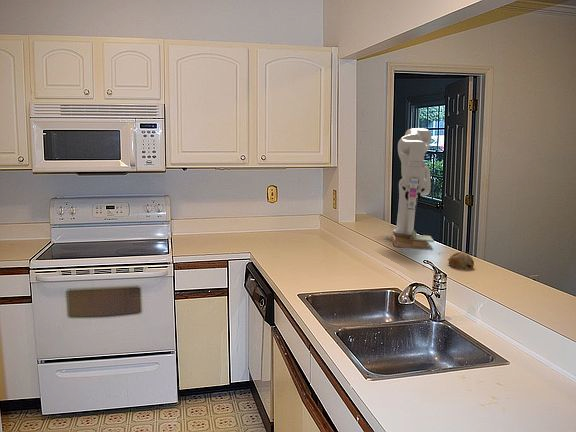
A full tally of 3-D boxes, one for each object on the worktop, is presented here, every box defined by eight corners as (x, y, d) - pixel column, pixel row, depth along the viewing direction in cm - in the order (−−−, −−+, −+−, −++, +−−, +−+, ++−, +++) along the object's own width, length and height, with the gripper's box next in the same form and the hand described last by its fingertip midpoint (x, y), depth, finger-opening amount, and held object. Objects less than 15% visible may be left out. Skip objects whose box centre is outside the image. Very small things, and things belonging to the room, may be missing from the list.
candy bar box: (416, 210, 276) (419, 177, 274) (406, 209, 277) (409, 177, 275) (416, 208, 287) (419, 177, 285) (406, 207, 288) (409, 176, 286)
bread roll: (457, 277, 225) (465, 262, 221) (441, 262, 232) (449, 247, 228) (473, 275, 230) (481, 260, 226) (456, 260, 237) (464, 246, 233)
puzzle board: (391, 239, 284) (392, 233, 283) (422, 242, 282) (423, 235, 282) (394, 246, 266) (394, 238, 266) (427, 249, 264) (428, 241, 264)
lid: (411, 235, 280) (411, 229, 280) (429, 237, 279) (430, 230, 279) (413, 240, 267) (414, 233, 266) (433, 242, 266) (434, 235, 265)
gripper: (432, 166, 281) (429, 201, 283) (399, 163, 285) (396, 198, 287) (432, 166, 274) (429, 202, 276) (398, 163, 278) (395, 199, 280)
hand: (412, 199), depth 282 cm, fingers closed on candy bar box, 5 cm apart
